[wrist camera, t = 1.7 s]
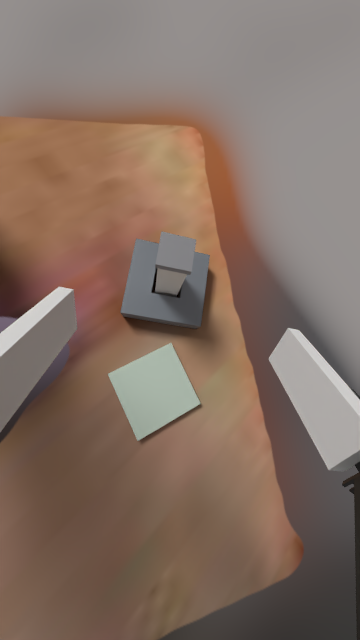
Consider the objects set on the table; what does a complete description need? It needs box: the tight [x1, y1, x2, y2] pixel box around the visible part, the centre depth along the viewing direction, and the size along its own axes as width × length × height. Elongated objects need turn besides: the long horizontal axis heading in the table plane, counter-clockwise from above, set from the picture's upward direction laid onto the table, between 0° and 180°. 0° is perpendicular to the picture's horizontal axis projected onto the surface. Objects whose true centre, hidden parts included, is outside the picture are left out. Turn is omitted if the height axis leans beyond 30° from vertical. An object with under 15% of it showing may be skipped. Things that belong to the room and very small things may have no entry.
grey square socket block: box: [121, 239, 210, 329], centre depth 36 cm, size 14×14×4 cm
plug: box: [155, 232, 196, 297], centre depth 31 cm, size 5×5×14 cm
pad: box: [108, 343, 201, 441], centre depth 34 cm, size 12×12×1 cm
